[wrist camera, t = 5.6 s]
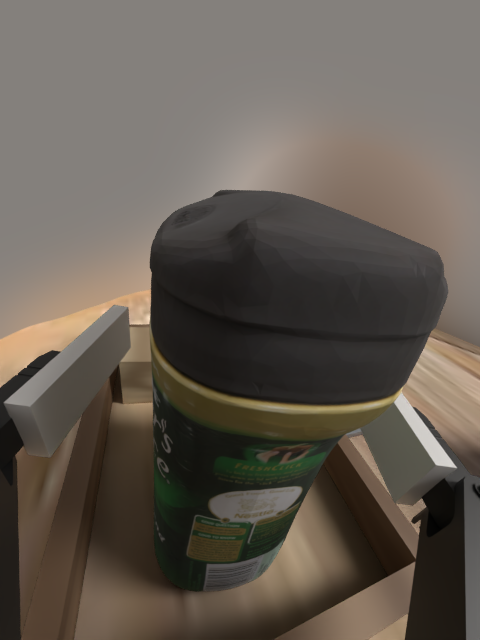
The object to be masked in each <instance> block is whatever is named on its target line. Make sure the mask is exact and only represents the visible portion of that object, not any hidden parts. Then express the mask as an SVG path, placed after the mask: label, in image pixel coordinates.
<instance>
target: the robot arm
mask: <svg viewBox="0 0 480 640" xmlns="http://www.w3.org/2000/svg"><path fill="white" fill-rule="evenodd" d="M130 348H131V342H130V326H129V310H128V307H124V306H118V305H113V306H112V307H111V308H110V309H109V310H108V311H107V312H105V313H104V314H103V315H102V316H101V317H100V318H99V319H98V320H96V321H95V322H94V323H93V324H92V325H91V326H90V327H88V328H87V329H86V330H85V331H84V332H83V333H82V334H81V335H79V336H78V337H77V338H76V339H75V340H74V341H73V342H72V343H70V344H69V345H68V346H67V347H66V348H65V349H64V350H62V351H61V352H60V351H53V350H52V351H50V352H48V353H46V354H44V355H41V356H39V357H38V358H36V359H35V360H34V361H33V362H31V363H30V364H29V365H28V366H27V368H24V369H23V370H22V371H20V372H19V373H18V375H15V376H14V377H13V378H12V379H11V380H9V381H8V382H7V383H6V384H4V385H3V386H2V387H1V388H0V640H21V631H20V585H19V538H18V491H17V460H16V457H15V455H16V454H17V452H18V451H19V450H20V449H21V448H22V447H23V446H24V447H25V450H26V452H27V454H28V455H32V456H40V457H47V458H50V457H51V456H52V455H53V453H54V452H55V451H56V449H57V448H58V446H59V445H60V444H61V442H62V441H63V440H64V438H65V437H66V436H67V434H68V433H69V431H70V430H71V429H72V427H73V426H74V425H75V423H76V422H77V420H78V419H79V418H80V416H81V415H82V414H83V412H84V411H85V409H86V408H87V407H88V405H89V404H90V403H91V401H92V400H93V398H94V397H95V396H96V394H97V393H98V392H99V390H100V389H101V388H102V386H103V385H104V383H105V382H106V381H107V379H108V378H109V377H110V375H111V374H112V372H113V371H114V370H115V368H116V367H117V366H118V364H119V363H120V361H121V360H122V359H123V357H124V356H125V355H126V353H127V352H128V351H129V349H130ZM360 429H361V431H362V433H363V436H364V438H365V440H366V442H367V444H368V447H369V449H370V451H371V453H372V455H373V457H374V460H375V462H376V464H377V466H378V468H379V470H380V473H381V475H382V477H383V479H384V481H385V484H386V486H387V488H388V490H389V492H390V494H391V497H392V499H393V501H394V503H397V504H405V505H412V506H413V505H414V504H415V503H416V502H417V501H419V500H420V499H421V498H422V499H423V501H424V503H425V505H426V506H427V507H426V508H425V509H423V510H422V511H421V512H420V513H418V514H417V515H416V516H415V517H413V519H412V521H411V522H412V523H414V524H415V523H416V522H418V521H419V520H421V525H420V527H419V528H420V532H419V539H418V547H417V554H416V562H415V569H414V576H413V584H412V591H411V598H410V606H409V613H408V621H407V628H406V635H405V640H480V478H479V477H477V476H473V475H471V474H470V473H469V472H468V471H467V469H466V468H465V467H464V465H463V464H462V463H461V462H460V460H459V459H458V458H457V456H456V455H455V454H454V452H453V451H452V450H451V448H450V447H449V446H448V445H447V443H446V442H445V441H444V439H442V438H441V435H440V434H439V433H438V432H437V430H435V428H434V426H433V425H432V424H431V422H430V421H429V420H428V419H427V417H426V416H424V415H423V414H422V413H421V412H420V411H419V410H418V409H417V408H415V407H412V406H411V405H410V403H409V402H408V401H407V399H406V398H405V397H404V395H403V394H402V393H401V394H400V395H399V396H398V398H397V399H396V400H395V401H394V402H393V404H392V405H391V406H390V407H389V408H388V409H387V410H386V411H385V412H384V413H383V414H381V415H380V416H379V417H378V418H376V419H375V420H373V421H372V422H370V423H369V424H367V425H365V426H363V427H361V428H360Z"/></svg>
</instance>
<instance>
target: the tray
mask: <svg viewBox="0 0 480 640" xmlns="http://www.w3.org/2000/svg"><path fill="white" fill-rule="evenodd" d="M129 326H130V327H148V328H150V324H149V325H129ZM117 370H118V366H117V367H116V368H115V370H114V371H113V372H112V374H111V375H110V377H109V378H108V379H107V381H106V382H105V383H104V385H103V386H102V388H101V389H100V390H99V392H98V393H97V394H96V396H95V397H94V398H93V400H92V401H91V403H90V404H89V405H88V407H87V408H86V409H85V411H84V412H83V414H82V418H81V421H80V425H79V429H78V432H77V436H76V440H75V443H74V447H73V451H72V454H71V458H70V461H69V465H68V469H67V472H66V476H65V480H64V483H63V487H62V491H61V494H60V498H59V502H58V505H57V509H56V512H55V516H54V520H53V523H52V527H51V531H50V534H49V538H48V542H47V545H46V549H45V553H44V556H43V560H42V563H41V567H40V571H39V574H38V578H37V582H36V585H35V589H34V593H33V596H32V600H31V604H30V607H29V611H28V614H27V618H26V622H25V625H24V629H23V633H22V636H21V640H74V634H75V628H76V622H77V616H78V609H79V603H80V597H81V591H82V585H83V579H84V573H85V566H86V560H87V554H88V548H89V542H90V536H91V530H92V523H93V517H94V511H95V505H96V499H97V493H98V487H99V481H100V474H101V468H102V462H103V456H104V450H105V444H106V438H107V431H108V425H109V419H110V413H111V407H112V401H113V395H114V388H115V382H116V376H117ZM323 464H324V466H325V467H326V469H327V471H328V473H329V474H330V476H331V478H332V480H333V481H334V483H335V485H336V486H337V488H338V490H339V492H340V493H341V495H342V497H343V499H344V500H345V502H346V504H347V505H348V507H349V509H350V511H351V512H352V514H353V516H354V518H355V519H356V521H357V523H358V525H359V526H360V528H361V530H362V531H363V533H364V535H365V537H366V538H367V540H368V542H369V544H370V545H371V547H372V549H373V551H374V552H375V554H376V556H377V557H378V559H379V561H380V563H381V564H382V566H383V568H384V570H385V571H386V573H387V575H388V577H386V578H385V579H383V580H381V581H379V582H377V583H375V584H374V585H372V586H370V587H368V588H366V589H365V590H363V591H361V592H359V593H357V594H355V595H354V596H352V597H350V598H348V599H346V600H344V601H343V602H341V603H339V604H337V605H335V606H334V607H332V608H330V609H328V610H326V611H324V612H323V613H321V614H319V615H317V616H315V617H313V618H312V619H310V620H308V621H306V622H304V623H303V624H301V625H299V626H297V627H295V628H293V629H292V630H290V631H288V632H286V633H284V634H283V635H281V636H279V637H277V638H275V639H273V640H368V639H369V638H371V637H372V636H374V635H375V634H377V633H378V632H380V631H382V630H383V629H385V628H386V627H388V626H389V625H391V624H392V623H394V622H395V621H397V620H398V619H400V618H401V617H403V616H404V615H406V614H408V613H409V606H410V598H411V591H412V584H413V576H414V569H415V562H416V554H417V547H418V539H419V535H418V534H417V532H416V531H415V529H414V528H413V527H412V525H411V524H410V523H409V521H408V520H407V518H406V517H405V516H404V514H403V513H402V511H401V510H400V509H399V507H398V506H397V505H396V503H394V501H393V499H392V498H391V496H390V495H389V494H388V492H387V491H386V489H385V488H384V487H383V485H382V484H381V482H380V481H379V480H378V478H377V477H376V476H375V474H374V473H373V471H372V470H371V469H370V467H369V466H368V464H367V463H366V462H365V460H364V459H363V458H362V456H361V455H360V453H359V452H358V451H357V449H356V448H355V447H354V445H353V444H352V442H351V441H350V440H349V438H348V437H347V435H346V434H345V435H344V436H343V437H342V438H341V439H340V440H339V442H338V443H337V444H336V445H335V446H334V448H333V449H332V450H331V452H330V453H329V455H328V456H327V458H326V459H325V461H324V463H323Z"/></svg>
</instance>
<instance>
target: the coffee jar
mask: <svg viewBox="0 0 480 640" xmlns="http://www.w3.org/2000/svg"><path fill="white" fill-rule="evenodd" d="M150 269H151V272H152V278H151V316H150V350H151V365H152V388H153V442H154V546H155V553H156V557H157V560H158V563H159V565H160V568H161V570H162V571H163V573H164V575H165V576H166V577H167V578H168V579H169V580H170V581H171V582H172V583H173V584H175V585H176V586H178V587H180V588H183V589H186V590H190V591H221V590H226V589H231V588H234V587H238V586H241V585H243V584H246V583H248V582H251V581H253V580H255V579H256V578H258V577H259V576H261V575H262V574H263V573H264V572H265V571H266V570H267V569H268V567H269V566H270V565H271V563H272V562H273V560H274V558H275V557H276V555H277V554H278V552H279V550H280V548H281V546H282V544H283V542H284V540H285V538H286V536H287V533H288V531H289V529H290V527H291V525H292V522H293V520H294V518H295V516H296V514H297V512H298V510H299V508H300V506H301V504H302V502H303V500H304V498H305V496H306V494H307V492H308V490H309V489H310V487H311V485H312V483H313V481H314V479H315V478H316V476H317V474H318V472H319V470H320V468H321V466H322V464H323V463H324V461H325V459H326V458H327V456H328V455H329V453H330V452H331V450H332V449H333V448H334V446H335V445H336V444H337V443H338V442H339V440H340V439H341V438H342V437H343V436H344V435H345V434H347V433H350V432H352V431H355V430H357V429H359V428H361V427H363V426H365V425H367V424H369V423H370V422H372V421H373V420H375V419H376V418H378V417H379V416H380V415H381V414H383V413H384V412H385V411H386V410H387V409H388V408H389V407H390V406H391V405H392V404H393V402H394V401H395V400H396V399H397V398H398V396H399V395H400V394H401V391H402V389H403V386H404V385H405V383H406V382H407V380H408V378H409V376H410V374H411V372H412V370H413V368H414V366H415V364H416V362H417V361H418V359H419V357H420V355H421V353H422V351H423V349H424V347H425V344H426V342H427V340H428V337H429V335H430V333H431V331H432V330H433V329H434V328H435V327H436V325H437V323H438V320H439V317H440V314H441V311H442V309H443V306H444V304H445V301H446V298H447V294H448V286H447V282H446V279H445V277H444V266H443V262H442V260H441V258H440V256H439V254H438V252H436V251H435V250H433V249H431V248H428V247H426V246H424V245H421V244H419V243H417V242H414V241H412V240H410V239H407V238H405V237H402V236H400V235H398V234H396V233H393V232H391V231H388V230H386V229H383V228H381V227H379V226H376V225H374V224H371V223H369V222H367V221H364V220H361V219H359V218H357V217H354V216H352V215H349V214H347V213H344V212H341V211H339V210H336V209H333V208H331V207H328V206H326V205H323V204H320V203H317V202H315V201H312V200H309V199H306V198H302V197H299V196H296V195H292V194H286V193H280V192H272V191H243V190H241V191H240V190H220V191H218V192H217V193H215V195H213V196H212V197H211V198H208V199H205V200H202V201H199V202H196V203H193V204H190V205H188V206H185V207H183V208H181V209H178V210H177V211H175V212H174V213H173V214H171V215H170V216H169V217H168V218H167V219H166V220H165V221H164V222H163V223H162V225H161V226H160V228H159V229H158V231H157V234H156V236H155V239H154V240H153V243H152V247H151V256H150Z"/></svg>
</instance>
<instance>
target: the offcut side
mask: <svg viewBox="0 0 480 640" xmlns="http://www.w3.org/2000/svg"><path fill="white" fill-rule="evenodd" d="M130 342H131V348H130V349H129V351H128V352H127V353H126V355H125V356H124V357H123V359H122V360H121V361H120V363H119V368H120V378H121V388H122V398H123V404H133V403H151V402H153V388H152V365H151V350H150V328H148V327H130Z"/></svg>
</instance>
